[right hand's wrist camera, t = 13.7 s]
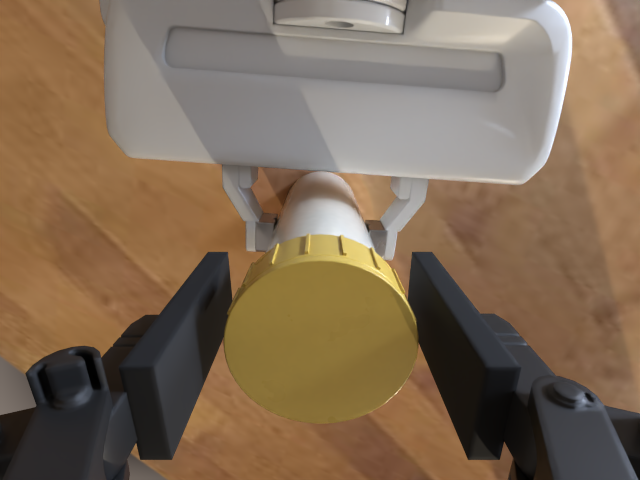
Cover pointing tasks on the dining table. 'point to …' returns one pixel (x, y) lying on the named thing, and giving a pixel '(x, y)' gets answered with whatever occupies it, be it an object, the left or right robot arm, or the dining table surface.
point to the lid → (321, 330)
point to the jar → (320, 211)
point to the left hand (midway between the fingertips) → (320, 252)
